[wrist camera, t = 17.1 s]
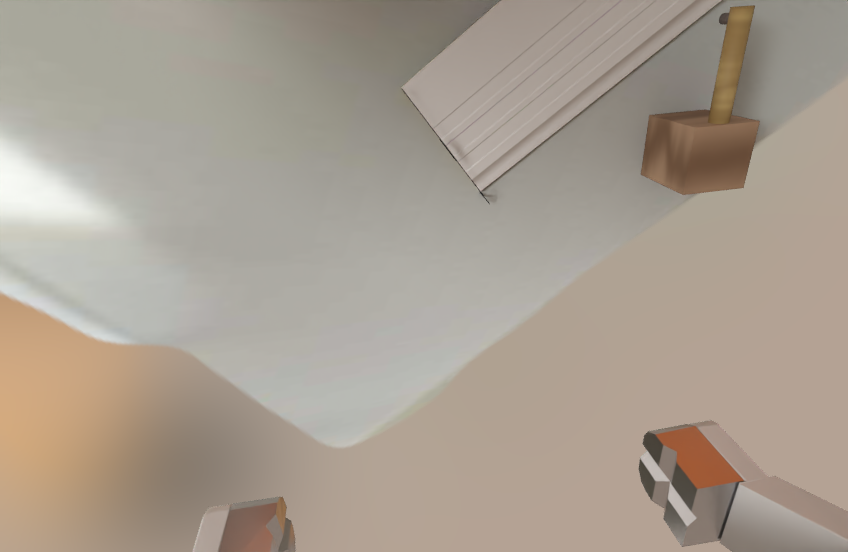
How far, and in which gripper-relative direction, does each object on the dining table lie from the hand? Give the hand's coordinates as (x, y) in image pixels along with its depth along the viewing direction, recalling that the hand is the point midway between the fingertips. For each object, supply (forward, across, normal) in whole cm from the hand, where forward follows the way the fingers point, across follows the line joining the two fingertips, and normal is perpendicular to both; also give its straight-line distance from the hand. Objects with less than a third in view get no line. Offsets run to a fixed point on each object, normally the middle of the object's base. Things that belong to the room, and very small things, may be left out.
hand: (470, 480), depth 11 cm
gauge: (+31, -25, -2) cm, 40 cm away
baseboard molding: (+32, -18, -9) cm, 38 cm away
